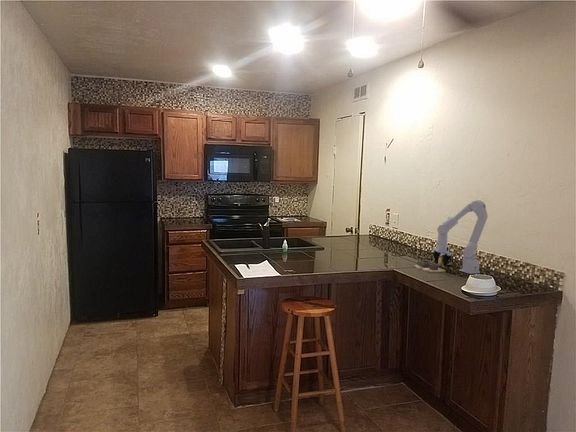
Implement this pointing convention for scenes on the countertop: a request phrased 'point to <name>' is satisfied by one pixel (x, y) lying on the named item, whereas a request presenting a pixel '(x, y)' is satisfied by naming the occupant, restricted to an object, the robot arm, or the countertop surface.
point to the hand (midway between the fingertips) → (440, 264)
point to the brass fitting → (440, 262)
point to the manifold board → (428, 266)
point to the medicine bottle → (450, 257)
